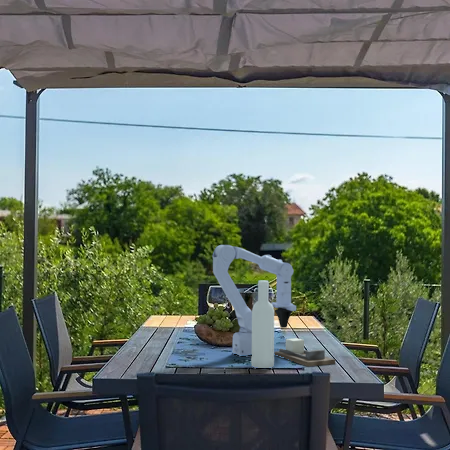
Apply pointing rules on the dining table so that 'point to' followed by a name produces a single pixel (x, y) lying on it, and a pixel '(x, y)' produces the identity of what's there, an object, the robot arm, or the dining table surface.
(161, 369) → the dining table surface
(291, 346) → the pale grey cube
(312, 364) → the rail board
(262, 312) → the bottle
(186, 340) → the dining table surface
